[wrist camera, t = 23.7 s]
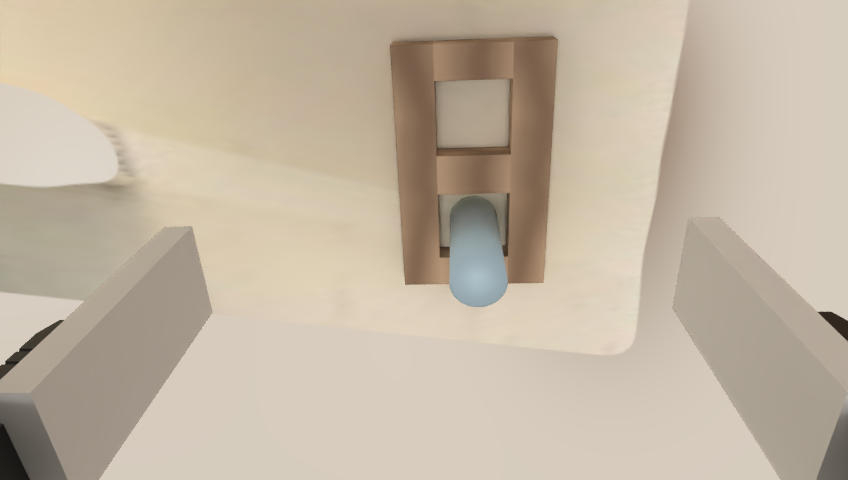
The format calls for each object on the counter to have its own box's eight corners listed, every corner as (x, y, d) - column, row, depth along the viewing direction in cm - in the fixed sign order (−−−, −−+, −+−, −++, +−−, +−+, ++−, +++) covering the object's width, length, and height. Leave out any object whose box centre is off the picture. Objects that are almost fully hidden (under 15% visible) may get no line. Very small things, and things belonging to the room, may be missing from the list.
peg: (450, 239, 50) (450, 307, 40) (449, 197, 49) (448, 257, 39) (496, 238, 50) (507, 306, 40) (496, 195, 48) (507, 256, 38)
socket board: (406, 273, 52) (405, 284, 50) (392, 42, 43) (390, 45, 41) (540, 271, 51) (543, 282, 50) (553, 36, 43) (557, 39, 41)
